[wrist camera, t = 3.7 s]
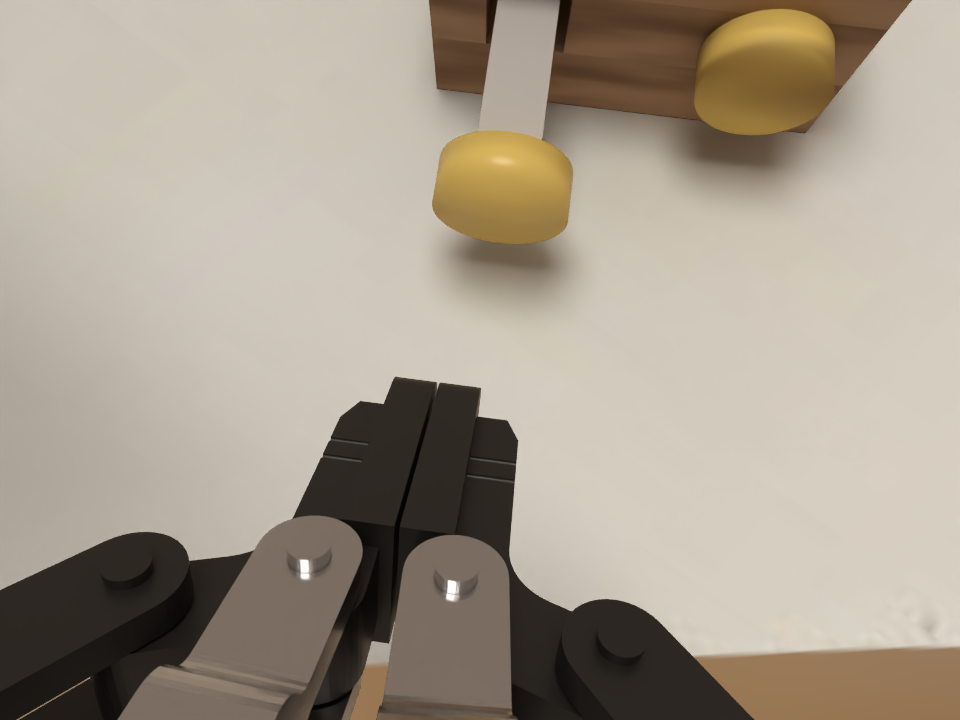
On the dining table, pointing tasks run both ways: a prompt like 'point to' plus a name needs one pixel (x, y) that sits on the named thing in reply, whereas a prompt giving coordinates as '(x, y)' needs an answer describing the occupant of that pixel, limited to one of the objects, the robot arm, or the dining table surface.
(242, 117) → the dining table surface
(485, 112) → the knob
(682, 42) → the block
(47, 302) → the dining table surface
